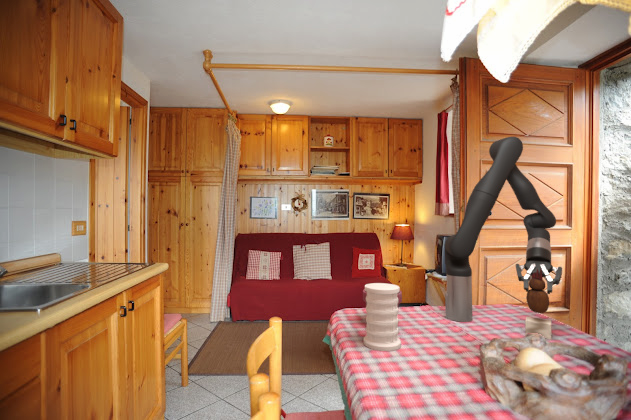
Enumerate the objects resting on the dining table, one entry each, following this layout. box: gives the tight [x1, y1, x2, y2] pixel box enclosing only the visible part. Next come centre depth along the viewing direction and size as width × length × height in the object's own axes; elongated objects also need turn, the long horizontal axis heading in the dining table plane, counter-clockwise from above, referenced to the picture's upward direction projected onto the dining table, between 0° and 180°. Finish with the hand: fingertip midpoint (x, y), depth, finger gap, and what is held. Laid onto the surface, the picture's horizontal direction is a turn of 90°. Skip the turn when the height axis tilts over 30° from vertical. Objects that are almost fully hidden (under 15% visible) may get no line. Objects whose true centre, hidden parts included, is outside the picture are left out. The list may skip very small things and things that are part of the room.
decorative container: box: [363, 282, 402, 352], centre depth 102 cm, size 12×12×18 cm
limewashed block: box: [524, 316, 552, 340], centre depth 109 cm, size 7×6×5 cm
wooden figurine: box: [525, 268, 550, 314], centre depth 110 cm, size 7×6×15 cm
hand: (537, 291), depth 108 cm, fingers closed on wooden figurine, 5 cm apart
